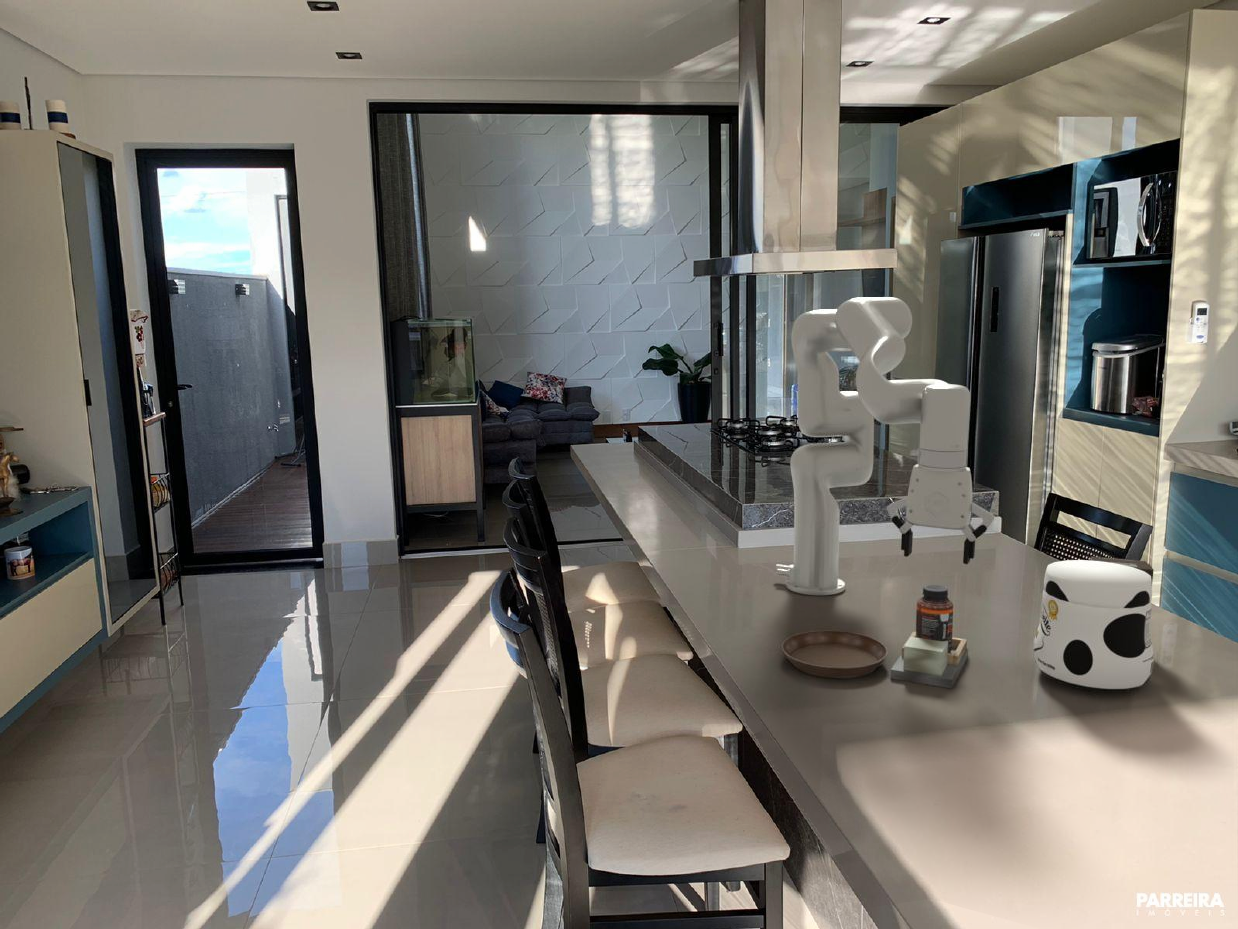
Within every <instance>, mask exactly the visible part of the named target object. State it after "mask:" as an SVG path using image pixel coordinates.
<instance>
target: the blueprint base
mask: <svg viewBox="0 0 1238 929" xmlns="http://www.w3.org/2000/svg"><path fill="white" fill-rule="evenodd" d="M968 657H969V647H968V639H966V638H958V637H953V636H952V649H951V652H950V653H948V642H942V641H936V640H929V639H922V638H916V631H912V632H911V634H910V636H909V637H908V638H907V640H906V642H904V644H903V646H902V647H901V654H900V656H899V657H898V659H897V660H896V661H895V662H894V664H893V666H892V667H891V668H890V679H894V680H900V681H905V682H912V683H917V684H923V685H927V684H928V686H933V685H934V687H939V688H944V689H951V688H952V689H953V687H954V685H955V683H956V681H957V679H958V677H959V675H960V673H961V671H962V669H963V667H964V665H965V663H966V661H967V658H968Z"/></svg>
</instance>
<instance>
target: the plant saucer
mask: <svg viewBox="0 0 1238 929" xmlns="http://www.w3.org/2000/svg"><path fill="white" fill-rule="evenodd" d="M781 649H782V652H783V654H784V655H785V657H786V658H787V659H788V660H789V662H790V663H791V664H793V667H796V668H797V669H798V670H800V671H801V672H804V673H806V674H809V675H813V676H816V677H821V678H822V677H823V678H830V679H851V678H852V679H853V678H859V677H864V676H867V675H868V674H871V673H872V672H874V671H876V669H878V668H879V667H880V666H881V664H882V663H883V662H884V661H885V660H886V658H887V656H888V647H887V646H886V645H885V644H884V643H882V642H881V641H879V640H877V639H876V638H873V637H871V636H869V635H868V636H867V635H865V634H861V633H857V632H851V631H843V630H831V629H829V630H826V629H825V630H812V631H805V632H799V633H797V634H793V635H791V636H789V637H787V638H786V639H785V640H784V641H783V642H782V644H781Z"/></svg>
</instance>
